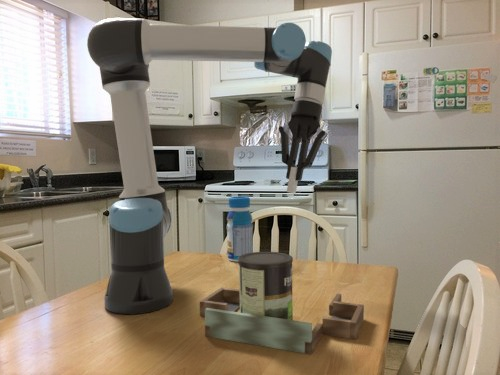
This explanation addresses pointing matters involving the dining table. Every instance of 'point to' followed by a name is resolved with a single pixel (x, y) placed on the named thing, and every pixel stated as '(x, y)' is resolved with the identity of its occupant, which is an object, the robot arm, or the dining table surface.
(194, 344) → the dining table surface
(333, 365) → the dining table surface
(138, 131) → the robot arm
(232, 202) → the beverage bottle
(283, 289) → the coffee can
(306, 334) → the wooden tray
